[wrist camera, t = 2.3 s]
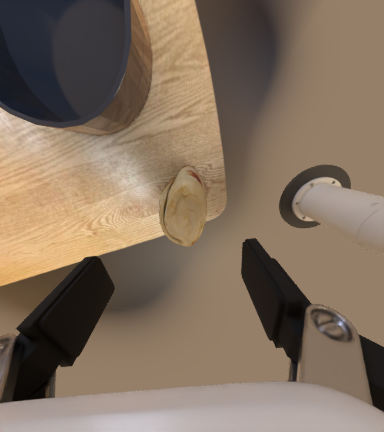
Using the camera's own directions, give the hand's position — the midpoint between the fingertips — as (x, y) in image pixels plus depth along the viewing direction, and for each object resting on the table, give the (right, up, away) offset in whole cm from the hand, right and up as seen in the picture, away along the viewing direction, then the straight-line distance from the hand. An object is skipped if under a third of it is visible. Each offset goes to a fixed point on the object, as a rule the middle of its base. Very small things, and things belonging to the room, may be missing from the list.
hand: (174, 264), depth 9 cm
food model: (0, +11, +25) cm, 27 cm away
